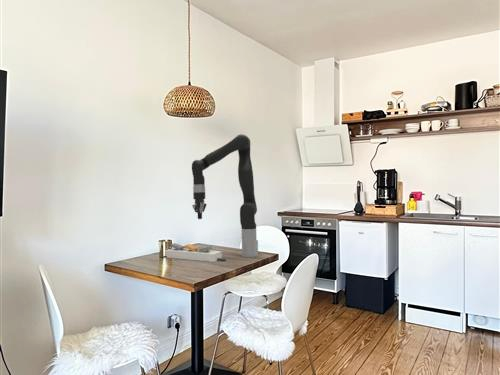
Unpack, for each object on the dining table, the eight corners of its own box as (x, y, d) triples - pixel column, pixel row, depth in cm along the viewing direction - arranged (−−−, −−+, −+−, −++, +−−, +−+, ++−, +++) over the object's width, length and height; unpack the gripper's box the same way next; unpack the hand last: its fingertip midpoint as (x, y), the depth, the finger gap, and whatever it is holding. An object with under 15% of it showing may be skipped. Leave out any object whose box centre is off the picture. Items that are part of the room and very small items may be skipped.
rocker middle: (197, 250, 223) (198, 247, 223) (194, 251, 219) (194, 248, 219) (188, 246, 226) (189, 244, 226) (184, 247, 222) (185, 245, 222)
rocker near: (212, 248, 218) (211, 245, 218) (208, 249, 215) (208, 247, 215) (202, 250, 221) (202, 247, 221) (199, 251, 218) (198, 249, 218)
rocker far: (183, 248, 228) (183, 246, 228) (179, 250, 224) (179, 247, 224) (174, 245, 231) (174, 243, 231) (170, 246, 227) (170, 244, 227)
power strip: (228, 259, 216) (228, 251, 216) (221, 262, 208) (221, 253, 208) (171, 254, 235) (170, 246, 235) (162, 256, 227) (161, 249, 227)
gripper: (198, 192, 222) (199, 220, 222) (209, 191, 234) (210, 218, 234) (188, 192, 225) (188, 219, 226) (200, 191, 237) (200, 217, 238)
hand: (199, 218), depth 230 cm, fingers closed
